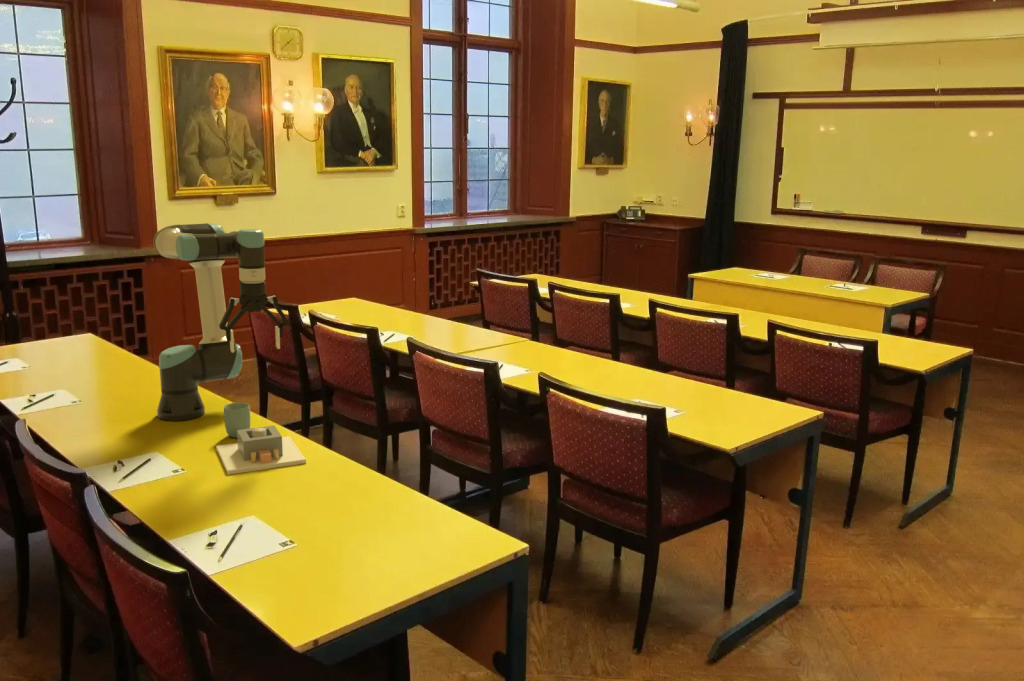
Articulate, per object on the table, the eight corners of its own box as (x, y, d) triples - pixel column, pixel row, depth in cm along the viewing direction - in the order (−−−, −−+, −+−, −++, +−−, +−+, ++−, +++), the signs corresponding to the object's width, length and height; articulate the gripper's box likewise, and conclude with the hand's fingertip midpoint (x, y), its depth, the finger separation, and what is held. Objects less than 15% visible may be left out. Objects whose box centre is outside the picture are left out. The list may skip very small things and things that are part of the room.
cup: (243, 441, 262) (241, 410, 260) (220, 438, 264) (218, 408, 261) (255, 433, 270) (254, 403, 267) (233, 431, 271) (231, 401, 269)
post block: (216, 449, 254) (215, 423, 253) (289, 439, 264) (288, 415, 262) (227, 474, 235) (226, 447, 233) (306, 463, 245) (305, 436, 243)
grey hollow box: (238, 449, 252) (236, 430, 250) (275, 443, 257) (274, 425, 255) (246, 465, 239) (245, 445, 237) (285, 460, 244) (284, 440, 242)
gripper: (210, 285, 243) (214, 355, 248) (297, 281, 253) (299, 349, 259) (207, 281, 249) (211, 349, 254) (291, 277, 260) (293, 343, 265)
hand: (255, 349), depth 256 cm, fingers open, 13 cm apart
